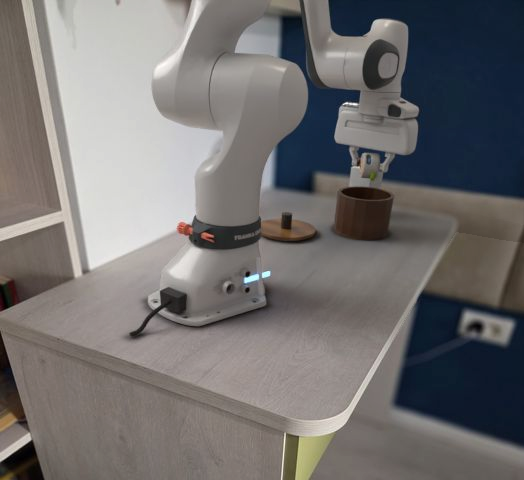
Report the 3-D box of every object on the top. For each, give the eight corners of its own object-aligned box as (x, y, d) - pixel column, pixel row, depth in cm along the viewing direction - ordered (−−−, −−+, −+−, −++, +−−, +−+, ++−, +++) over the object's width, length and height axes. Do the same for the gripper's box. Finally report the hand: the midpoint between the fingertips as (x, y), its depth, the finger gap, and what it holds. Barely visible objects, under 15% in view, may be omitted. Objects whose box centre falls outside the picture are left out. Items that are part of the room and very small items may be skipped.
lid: (289, 247, 116) (291, 227, 113) (244, 232, 124) (244, 212, 121) (326, 233, 125) (328, 214, 122) (282, 220, 133) (283, 201, 130)
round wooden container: (369, 244, 120) (375, 204, 115) (323, 230, 127) (327, 192, 122) (397, 231, 129) (404, 194, 123) (352, 219, 136) (357, 183, 131)
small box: (357, 208, 145) (363, 162, 138) (377, 213, 142) (385, 165, 135) (344, 215, 139) (350, 166, 132) (365, 219, 136) (372, 170, 129)
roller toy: (359, 180, 118) (362, 155, 115) (356, 174, 124) (359, 149, 121) (377, 181, 118) (381, 156, 115) (373, 175, 124) (377, 150, 121)
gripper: (332, 101, 116) (326, 163, 123) (412, 111, 105) (400, 178, 112) (347, 100, 120) (340, 160, 128) (426, 109, 109) (413, 174, 116)
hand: (369, 168), depth 120 cm, fingers closed on roller toy, 6 cm apart
